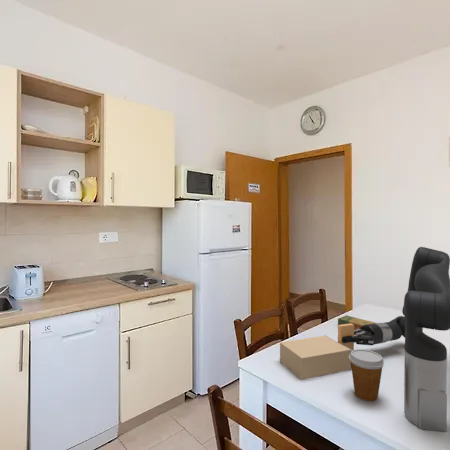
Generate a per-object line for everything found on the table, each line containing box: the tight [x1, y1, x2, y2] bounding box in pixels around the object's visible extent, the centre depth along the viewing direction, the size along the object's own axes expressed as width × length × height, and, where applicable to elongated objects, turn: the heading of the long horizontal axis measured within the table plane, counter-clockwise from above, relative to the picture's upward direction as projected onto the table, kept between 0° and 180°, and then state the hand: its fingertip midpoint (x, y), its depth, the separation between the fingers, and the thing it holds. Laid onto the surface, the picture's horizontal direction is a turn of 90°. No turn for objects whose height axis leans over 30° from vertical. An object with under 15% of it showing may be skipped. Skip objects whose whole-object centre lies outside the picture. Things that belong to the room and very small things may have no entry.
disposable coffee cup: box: [349, 348, 385, 402], centre depth 91 cm, size 10×10×12 cm
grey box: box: [327, 323, 355, 369], centre depth 111 cm, size 26×14×12 cm, turn 110°
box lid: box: [279, 335, 352, 380], centre depth 110 cm, size 20×14×7 cm
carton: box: [337, 314, 376, 330], centre depth 149 cm, size 8×16×4 cm, turn 39°
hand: (340, 339), depth 114 cm, fingers closed on grey box
